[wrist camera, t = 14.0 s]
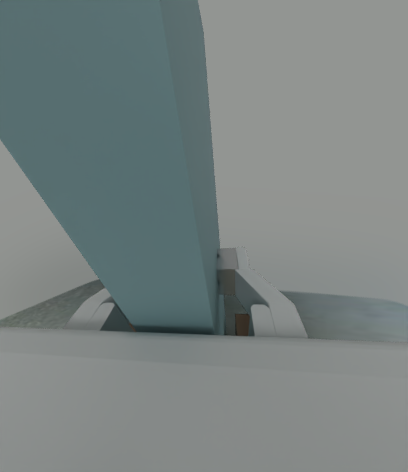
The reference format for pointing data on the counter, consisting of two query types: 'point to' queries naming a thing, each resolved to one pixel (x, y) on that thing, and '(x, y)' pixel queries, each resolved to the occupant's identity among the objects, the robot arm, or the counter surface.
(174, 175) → the teal plate
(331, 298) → the counter surface
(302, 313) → the counter surface
